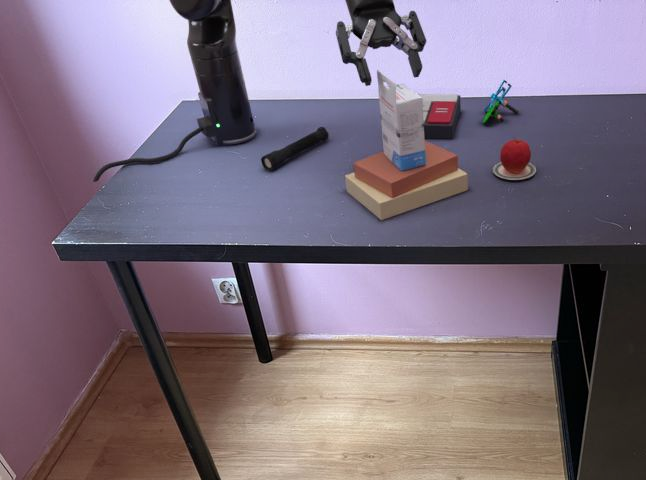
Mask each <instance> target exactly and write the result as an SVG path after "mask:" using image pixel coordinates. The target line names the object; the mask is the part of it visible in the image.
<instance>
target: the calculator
mask: <svg viewBox="0 0 646 480" xmlns="http://www.w3.org/2000/svg"><path fill="white" fill-rule="evenodd" d="M417 94H418V95H419V96H420V97H422V98H423V120H424V139H437V140H439V139H440V140H441V139H443V140H451V139H453V137H454V134H455V131H456V127H457V123H458V121H459V120H458V119H459V118H460V115H461V95H459V94H455V93H454V94H452V93H442V94H441V93H417Z"/></svg>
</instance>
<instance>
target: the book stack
mask: <svg viewBox="0 0 646 480" xmlns="http://www.w3.org/2000/svg"><path fill="white" fill-rule="evenodd" d="M425 156H426V165H424V166H420V167H416V168H412V169H408V170H404V171H401V170H400V169H399V168H398V167H397V166H396V165H395V164H394V163H393V162H392V161H391V160H390V159H389V158H388V157H387V156H386V155H385V154H384V150H383V151H380V152H378V153H375V154H372V155H370V156H367V157H364V158H362V159H360V160H357V161H354V162H353V163H352V165H353V172H352V173H348V174H345V175H344V180H345V186H346V192H347V193H348V194H349V195H351V197H352V198H354V199H355V200H356V201H357V202H359V204H361V205H362V206H363V207H364V208H366V209H367V210H368V211H370V212H371V213H372V214H373V215H374V216H375V217H376V218H378V219H379V220H380V221H383V220H387V219H389V218H392V217H395V216H399V215H400V214H401V215H402V214H403V213H404V214H405V213H406V212H409V211H412V210H415V209H418V208H421V207H424V206H426V205H429V204H432V203H435V202H438V201H441V200H443V199H446V198H450V197H452V196H455V195H458V194H461V193H464V192H467V191H469V190H468V189H469V182H468V181H469V174H468V173H467V172H465V171H464V170H463V169H460V167H459V159H458V158H459V157H458V156H459V155H458V154H455V153H453V152H451V151H449V150H447V149H444V148H442V147H440V146H437V145H436V144H433V143H431V142H429V141H427V140H425Z"/></svg>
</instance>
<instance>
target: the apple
mask: <svg viewBox="0 0 646 480" xmlns="http://www.w3.org/2000/svg"><path fill="white" fill-rule="evenodd" d="M512 138H513V139H511V140H508V141H506V142H505V143H504V144H503V146H502V147H501V150H500V155H499V157H500V162H498V163H496V164H495V165H494V166H493V167H492V173H493V174H494V175H495V176H496V177H498V178H500V179H504V180H508V181H521V180H526V179H529V178H531V177H533V176H534V175H535V174H536V172H537V169H536V166H535V165H534V164H532V163H531V162H530V161H531V158H532V152H531V151H532V150H531V148H530V145H529V143H528V142H526V141H524V140H523V139H516V137H515V136H512Z"/></svg>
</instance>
